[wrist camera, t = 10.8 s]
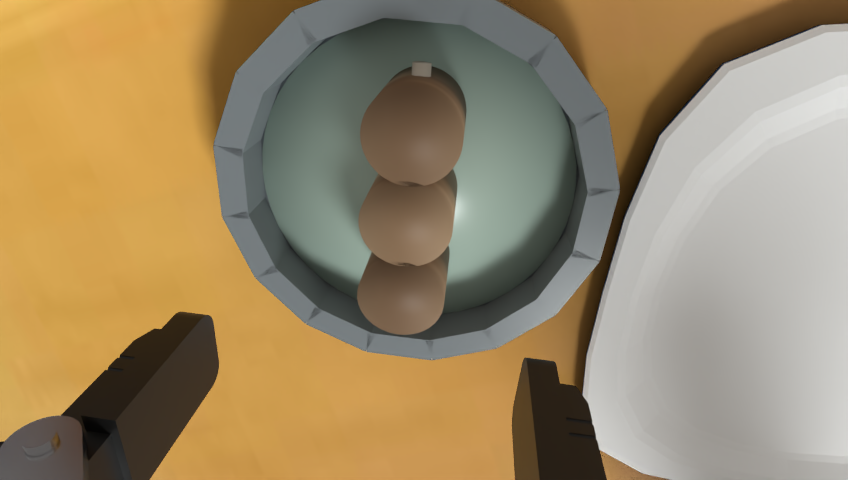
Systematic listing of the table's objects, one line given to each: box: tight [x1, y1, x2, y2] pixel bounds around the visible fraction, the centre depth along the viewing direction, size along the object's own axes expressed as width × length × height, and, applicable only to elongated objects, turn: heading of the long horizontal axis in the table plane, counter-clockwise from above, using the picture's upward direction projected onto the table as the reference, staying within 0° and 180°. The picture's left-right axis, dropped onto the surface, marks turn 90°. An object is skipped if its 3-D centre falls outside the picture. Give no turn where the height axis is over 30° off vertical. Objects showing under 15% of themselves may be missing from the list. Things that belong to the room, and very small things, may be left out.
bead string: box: [357, 61, 467, 335], centre depth 21 cm, size 4×11×4 cm, turn 176°
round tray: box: [213, 0, 620, 360], centre depth 22 cm, size 16×16×3 cm
